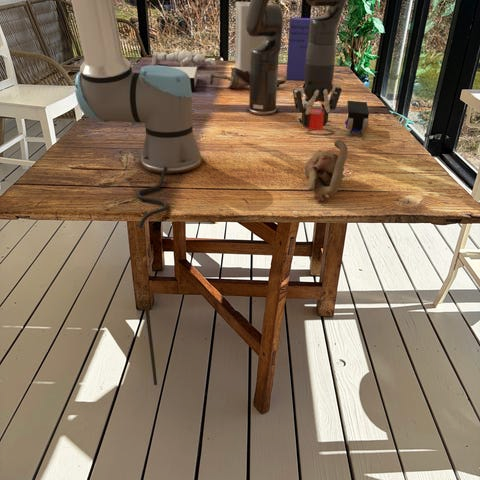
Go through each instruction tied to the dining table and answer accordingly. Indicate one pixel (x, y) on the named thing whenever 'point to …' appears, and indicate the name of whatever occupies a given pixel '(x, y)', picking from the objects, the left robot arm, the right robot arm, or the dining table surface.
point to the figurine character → (357, 116)
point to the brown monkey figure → (326, 171)
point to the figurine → (239, 78)
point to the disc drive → (190, 75)
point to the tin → (316, 119)
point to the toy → (181, 58)
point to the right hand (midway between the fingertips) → (314, 125)
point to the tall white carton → (244, 38)
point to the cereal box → (297, 48)
